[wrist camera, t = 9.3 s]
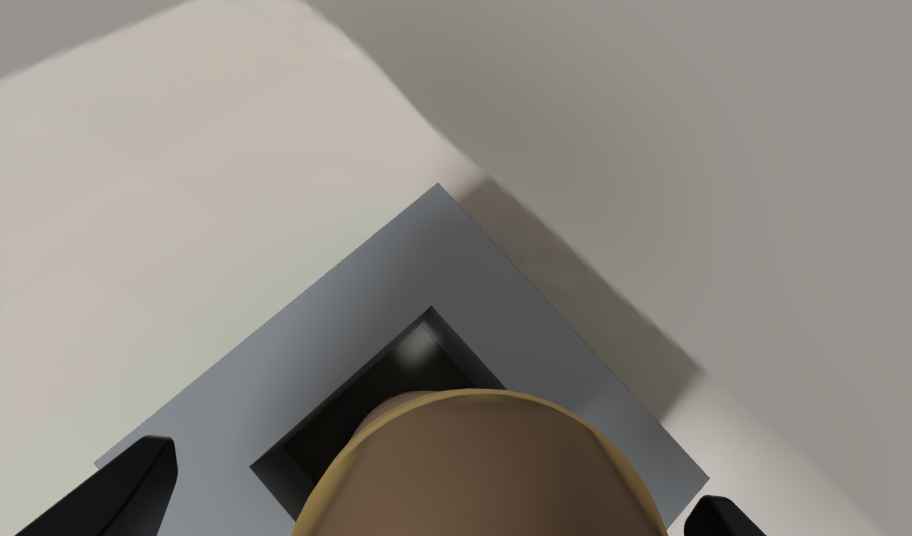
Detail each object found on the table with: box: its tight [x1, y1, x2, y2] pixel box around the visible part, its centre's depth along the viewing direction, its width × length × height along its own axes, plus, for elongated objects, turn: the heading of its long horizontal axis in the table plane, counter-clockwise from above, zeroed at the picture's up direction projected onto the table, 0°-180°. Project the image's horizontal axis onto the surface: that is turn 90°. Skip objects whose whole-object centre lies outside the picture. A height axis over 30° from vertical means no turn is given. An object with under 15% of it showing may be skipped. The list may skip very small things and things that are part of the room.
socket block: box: [94, 183, 710, 536], centre depth 16 cm, size 11×11×4 cm
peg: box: [291, 389, 668, 536], centre depth 12 cm, size 4×4×13 cm
